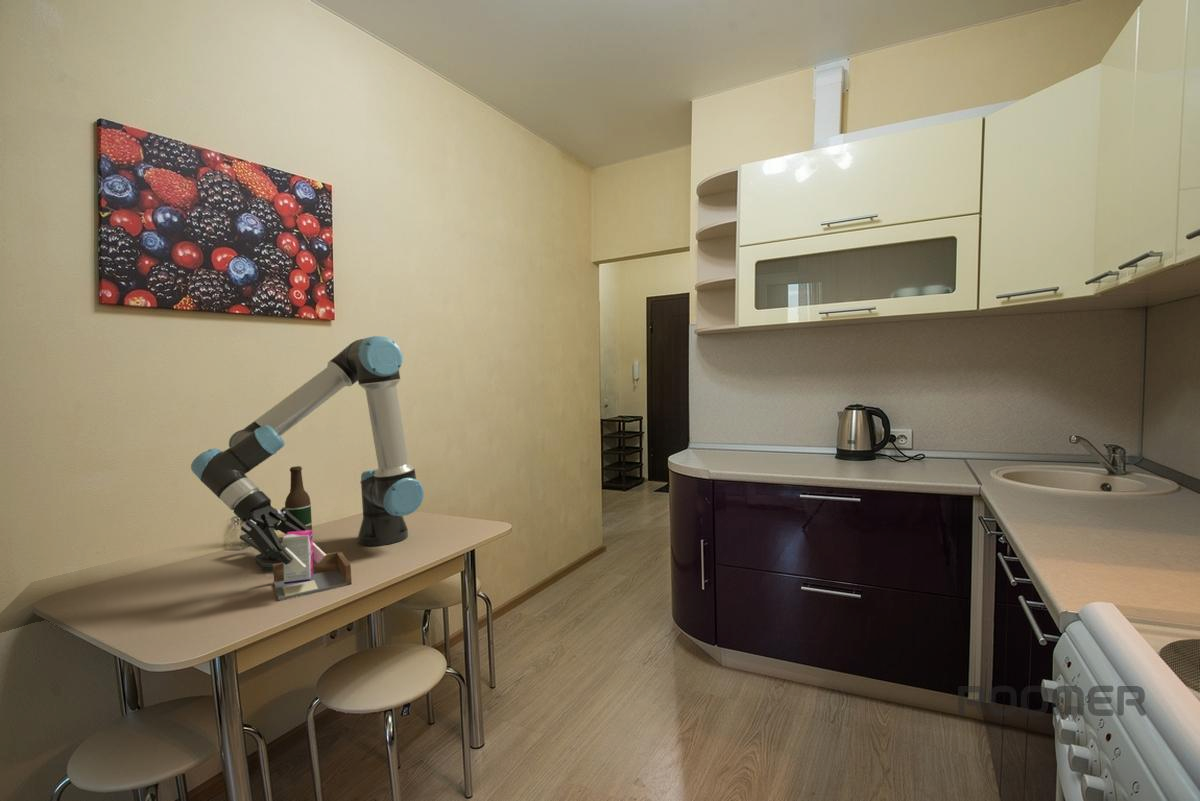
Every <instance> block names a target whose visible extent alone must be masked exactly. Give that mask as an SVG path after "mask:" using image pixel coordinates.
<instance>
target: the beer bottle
mask: <svg viewBox="0 0 1200 801" xmlns="http://www.w3.org/2000/svg"><path fill="white" fill-rule="evenodd" d="M302 471H303V467H302V466H299V465H298V466H296V465H295V466H291V467H290V468H289V472H290V489H289V493H288V495H287V496H286V499H285V502H284V507H285V508H287V510H288V511H289V512H290V514H292V515H293V516H294V517H295V518H296V519H298V520H299V521H300V522H301V523H303V524H304V525H305V526H306V527H307V528H309V529H310V530H312V531H313V524H312V523H313V522H312V506H311V504H312V503H311V498H310V496H309V493H308V492H307V491H306V490H305V488H304V482H303V474H302Z"/></svg>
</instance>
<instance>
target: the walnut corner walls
mask: <svg viewBox="0 0 1200 801" xmlns="http://www.w3.org/2000/svg"><path fill="white" fill-rule="evenodd" d="M325 554H326V556H325V557H324V558H323V559H322V560H321V561H320V562H319V563H317V562H316V561H315V560H314V559H313V567H314V574H317V573H322V572H326V571H331V570H336V569H338V570H339V572H340V574H341V575H342V577H343V578H344V580H345V582H346V586H349V585H350V583H351V585H352V566H351V563H350V562H349V560H348V559H347V558H346V556H345V555H344V553H343V552H342V551H341V550H340V551H339V550H338V551H335V552H330V553H325ZM272 573H273V583H274V582H279V581H284V565H283V562H282V563H277V564H273V572H272ZM347 583H349V585H348V584H347Z"/></svg>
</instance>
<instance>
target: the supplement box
mask: <svg viewBox="0 0 1200 801" xmlns="http://www.w3.org/2000/svg"><path fill="white" fill-rule="evenodd" d="M313 542H314V540H313V529H312V530H304V531H293V532H287V534H285V535H284V536H283V537H282V546H283V548H284V549H285V548H288V549H289V550H290V551H291V552H292V553H293V554H295V555H296V556H297V557H298V558H299V559H300V560H301V561H302V562H303V563H304V564H305V565H306V567H305V568H304V569H303V570H302V572H301V573H300V574H298V575H297V574H296V573H295V572H294V571H293V570H292V569H291V568H290V567H288V566H287V565H286V564H284V563H283V565H284V584H292V583H299V582H307V581H310V579H311V577H312V575H313V574H314V567H313ZM284 549H283V550H284Z"/></svg>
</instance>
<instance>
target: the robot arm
mask: <svg viewBox="0 0 1200 801" xmlns="http://www.w3.org/2000/svg"><path fill="white" fill-rule="evenodd" d="M403 360H404V358H403V352H402V350H401V348H400V346H399V345H398V343H396V342H395V341H394V340H392V339H391V338H389V337H385V336H380V335H378V336H377V335H373V336H369V337H366V338H360V339H356V340H354V341H353V342H351V343H349V344H348V345H347V346H346V347H344V349H342V350H341V351H340V352H339V353H338V354H337V355H336V356H334V357H333V358H331V359H330V360H329V361H328V362H327V367H325V368H324V369H322V370H321V371H319V373H317V374H316V375H315V376H313V377H312V378H310V379H309V380H307V382H305V383H304V384H302V385H301V386H300V387H298V388H297V389H296V390H294V391H293V392H292V393H290V394H288V396H286V397H285V398H283V399H282V400H281V401H279V402H278V403H277V404H275V405H273V406H272V407H271V408H270V409H269V410H267V411H266V412H265V413H263V414H261V416H259V417H258V418H256V419H255V420H254V421H253V422H251V423H250V424H248V425H247V426H245V427H244V428H243V429H240V430H237V431H235V432H234V433H233V434H232V435H231V436H230V438H229V440H228V447H229V448H227V449H225V450H223V451H222V450H220V449H219V448H216V447H215V448H209V449H208V450H206V451H203V452H201V453H200V454H198V455H197V456H196V457H195V458H194V459H193V461H192V462H191V465H190V469H191V472H192V473H193V474H194V475H195V476H196V478H198V479H199V481H200V482H201V483H203V485H204V486H206V487H207V488H208V489H209V490H210V491H211V492H212V493H213V495H215V496H216V497H217V498H218V499H219V500H221V501H222V502H223V503H224V504H225V505H226V506H227V507H228V509H230V511H233V514H234V515H236V516H237V518H239V520H241V522H244V523H243V525H242V526H241V527H240V530H241V531H242V532H244V534H248V535H249V536H250V537H251V538H250V539H252V540H253V541H254V542H255V544H256V545H257V546H258V547H259V548H260V550H261V551H262V552H263V553H264V554H265V556H266V557H270V556H271V558H273V559H275V558H276V557H278V558H279V559H280V560H281V561H282V562H283V563H284V564H286V565H287V566H288V567H290V568H291V569H292V570H293V571H294V572H295V573H296V574H297V575H298V574H300V573H301V572H302V570H303V569H304V568H305V567H306V565H305V564H304V563H303V562H302V561H301V560H300V559H299V558H298V557H297V556H296V555H295V554H293V553H292V552H291V551H290V550H289V549H288V548H285V549H284V548H283V543H282V542H281V541H280V539H279V536H278V534H277V533H276V531H280V532H282V533H283V534H285V535H286V534H287V532H293V531H304V530H310V529H309V528H307V527H306V526H305V525H304V524H303V523H301V522H300V521H299V520H298V519H296V518H295V517H294V516H293V515H292V514H290V512H289V511H288V510H287V508H285V506H283V507H282V508H281V509H277V508H276V507H275V508H274V507H273V506H272V500H271V498H269V497H268V495H266V493H265V492H263V491H262V490H260V487H258V485H257V484H256V483H255V482H253V480H251V479H250V478H249V477H248V476H247V475H246V474H247V473H249V472H250V471H252V470H253V469H255V468H256V467H258V466H259V465H260V464H262V463H263V462H265V461H266V460H267V459H270V458H271V457H272V456H273V455H276V454H277V452H279V451H280V450H281V449H282V448H284V446H285V440H284V439H283V438H282V436H283V435H284V434H285V433H287V432H288V431H289V430H290V429H291V428H293V427H295V426H296V424H298V423H300V422H301V421H302V420H303V419H305V418H306V417H307V416H309V414H312V412H314V410H316V409H317V408H319V407H320V406H321V405H323V404H324V403H325V402H327V401H328V400H329V399H330V398H332V397H333V396H334V395H336V394H337V393H338V392H339V391H342V389H343V388H345V387H352V386H353V385H354V384H355V383H357V382H358V386H360V387H361V388H362V389H364V390H365V395H366V401H367V406H368V407H367V408H368V413H369V418H370V419H369V420H370V426H371V432H372V437H373V444H374V449H375V456H376V461H377V469H376V468H375V469H372V470H371V469H370V470H365V471H362V473H361V475H360V486H361V502H362V505H361V507H362V521H361V524H360V527H359V531H358V534H357V540H358V541H357V542H358V544H359V545H362V546H368V547H371V546H385V545H392V544H395V543H398V542H402V541H405V539H407V538H408V537H409V527H408V526H407V524H406V521H405V519H404V516H409V515H411V514H413V513H415V512H416V511H417V510H418V509H419V508H420V507H421V505H422V503H423V501H424V497H425V490H424V487H423V485H422V484H421V482H420V481H419V480H418V479H417V476H416V470H415V466H414V465H412V464H410V463H409V460H408V459H409V458H408V453H407V447H406V442H405V439H406V438H405V434H404V427H403V421H402V416H401V415H402V414H401V408H400V402H399V397H398V390H397V385H398V383H399V382H400V381H401V376H400V375H401V374H400V369H401V366H402V364H403ZM268 549H269V550H268ZM283 549H284V550H283ZM326 554H327V553H325V552H324V551H323V550H322V549H321V548H320V547H319V546H318V544H317V543H315V541H313V559H314V560H315V561H316V562H317V563H319V562H320V561H321V560H322V559H323V558H324V557H325V556H326Z"/></svg>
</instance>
